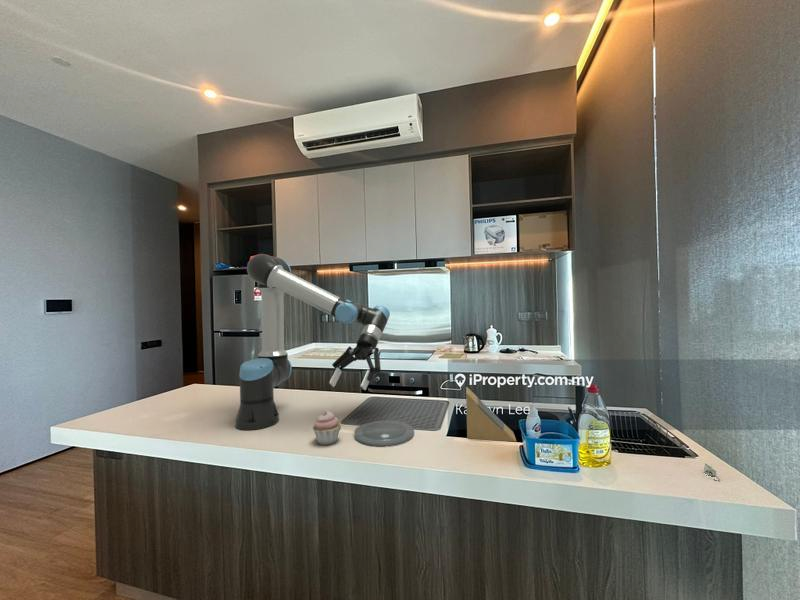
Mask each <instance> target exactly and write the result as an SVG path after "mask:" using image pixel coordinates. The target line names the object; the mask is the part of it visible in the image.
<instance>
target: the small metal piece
mask: <svg viewBox="0 0 800 600" xmlns="http://www.w3.org/2000/svg"><path fill="white" fill-rule="evenodd" d="M712 467H713V465H711V466H710V465H708V464H707V463H704V467H703V470H702V469H701V472H702V471H704V473H705V474H707V475H708V476H711V477H716V478H717V479H718V480H719V477H718V474H717V471H716V470H715V469H713V468H712Z"/></svg>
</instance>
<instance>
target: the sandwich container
mask: <svg viewBox="0 0 800 600" xmlns="http://www.w3.org/2000/svg"><path fill="white" fill-rule="evenodd" d="M465 388H466V393H465V396H466V397H465V399H466V400H465V401H466V403H465V405H466V438H467V440H479V441H480V440H481V441H497V442H499V441H501V442H502V441H503V442H517V439H516V436H515V433H514V431H513V430H512V429H510V427H508V425H506V424H505V423H504V422H503V421H502V420H501V419H500V418H499V417H498V415H496V414H495V413H494V412H493V411H492V410H491V409H490V408H489V407H488V406H487V405H486V404H485V403H484V402H483V401H482V400H481V399H480V398H479V397H478V396H477V395H476V394H475V393H474V392H473V391H472V390H471V389H470V388H469V387H468V386H466V387H465Z"/></svg>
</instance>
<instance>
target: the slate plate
mask: <svg viewBox="0 0 800 600" xmlns="http://www.w3.org/2000/svg"><path fill="white" fill-rule="evenodd" d="M353 435H354V439H355V441H356V442H357V443H360V444H361V445H365V446H369V447H374V446H375V448H376V447H378V448H381V447H382V448H387V447H386V446H388V447H393V446H399V445H402V444H404V443H407V442H409V441H411V440H412V439H413V438H414V436H415V429H414V427H413V426H412V425H411V424H409V423H407V422H404V421H398V420H391V419H390V420H389V419H388V420H376V421H370V422H366V423H363V424H362V425H359V426H358V427H357V428H355V430H354V434H353Z"/></svg>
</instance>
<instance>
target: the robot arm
mask: <svg viewBox="0 0 800 600" xmlns="http://www.w3.org/2000/svg"><path fill="white" fill-rule="evenodd" d="M246 265H247V266H246V272H247V274H248V277H249V278H250V279H251V280H252V281H253V282H255V283H257V289H258V291H259V292H261V339H262V340H261V351H260V352H259V353H258V355H257V357H258V358H254V359H250V360H247V361H244V362H243V363H242V364H241V365H240V368H239V373H238V374H239V375H238V376H239V398H240V399H239V401H240V404H239V408H238V411H237V414H236V417H235V424H234V425H235V428H236V429H239V430H241V431H251V430H252V431H253V430H255V431H256V430H261V429H264V428H268V427H271V426H273V425H276V424H277V423H278V422H279V421H280V419H279V418H280V416H279V415H280V413H279V412H278V409H277V406H276V403H275V400H274V393H275V392H274V388H276V387H278V386H280V385H282V384H284V383H285V382H286V381H287V380H288V379H289V377H290V376H291V374H292V367H293V366H292V364H291V361H290V360H289V359H288V358H289V357H288V352H287V351H286V350H285V344H284V343H285V341H284V340H285V338H284V337H285V330H284V329H285V328H284V326H285V325H284V324H285V323H284V322H285V320H284V319H285V317H284V316H285V313H284V311H285V310H284V309H285V308H284V307H285V305H284V298H285V294H287V295H289V296H291V297H293V298H295V299H296V300H299V301H301V302H303V303H306V304H307V305H310V306H311V307H314V308H315V309H317V310H319V311H321V312H323V313H325V314H327V315H329V316H331V317H333V318H335V319H336V320H337V321H338V322H339V323H341V324H345V325H347V324H348V325H349V324H352V323H358V324H359V325H362V326H364V327H363V329H362V331H361V333H360V335H359V337H358V339H357V341H356V346H355V347H353V348H352V347H351V346H348V347H347V348H346V349H345V351H344V352H343V353H342V354H341V355H340V356H339V357H338V358H337V359H336V360H335V361H334V362H333V363H332V364H331V365H332V367H333V368H334V370H333V371H332V374H331V378H330V380H329V382H328V383H329V385H330V386H331V387H335V386H336V384H337V383H338V381H339V378H340V376H341V374H342V372H343V371H342V370H343V369H344V368H347V367H348V366H349V365H350V364H351V363H353V362H356V361H365V360H366V363H367V364H368V368H369V369H367V370H366V371H365V372H366V373H365V375H364V376H363V380H362V382H361V384H360V388H361V389H362V390H364V391H366V390H367V388H368V386H369V384H370V382H372V380H373V378H374V375H375V374H377V373H381V372H382V370H381V359H380V358H381V357H380V356H381V353H382V352H381V350H380V349H379V347H377V345H378V343H379V341H380V339H381V337H382V335H383V332H384V331H385V328H386V326H387V325H388V321H389V318H390V314H391V313H390V310H389V309H388V308H387V307H386V306H384V305H379V304H377V305H375V306H374V307H373V308H371V307H369V306H366V305H363V304H360V303H358V302H355V301H353V300H349V299H344V298H341V297H340V296H338V295H336V294H333V293H331V292H329V291H328V290H325V289H323V288H322V287H320V286H318V285H315V284H314V283H312V282H310V281H307V280H305V279H304V278H301V277H299V276H297V275H295V274H293V273H292V269H291V267H290V265H289V263H288V262H287V261H286V260H284V259H282V258H280V257H277V256H273V255H272V256H271V255H270V254H264V253H259V254H256V255H254V256H252V257H251V258H250V259H249V261H248V262H247V264H246ZM372 355H373V360H374V364H373V360H372V359H371V356H372Z"/></svg>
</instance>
